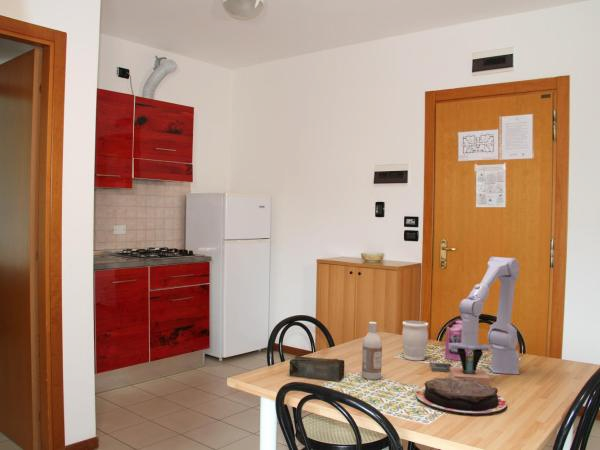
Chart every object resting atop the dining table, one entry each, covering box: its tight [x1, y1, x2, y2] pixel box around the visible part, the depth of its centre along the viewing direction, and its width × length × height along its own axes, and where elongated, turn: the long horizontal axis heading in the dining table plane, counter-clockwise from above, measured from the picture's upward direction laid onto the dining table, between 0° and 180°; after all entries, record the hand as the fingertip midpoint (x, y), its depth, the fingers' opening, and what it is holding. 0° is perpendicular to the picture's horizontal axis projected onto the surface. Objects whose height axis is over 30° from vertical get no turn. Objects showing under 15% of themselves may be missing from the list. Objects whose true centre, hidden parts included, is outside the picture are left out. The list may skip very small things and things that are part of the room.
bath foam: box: [361, 321, 383, 381], centre depth 189 cm, size 7×7×20 cm
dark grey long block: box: [288, 355, 345, 382], centre depth 189 cm, size 8×19×7 cm, turn 73°
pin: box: [465, 355, 474, 374], centre depth 189 cm, size 3×3×7 cm
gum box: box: [444, 318, 473, 362], centre depth 226 cm, size 24×8×14 cm, turn 152°
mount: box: [429, 362, 453, 373], centre depth 202 cm, size 8×8×1 cm
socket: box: [448, 366, 491, 386], centre depth 188 cm, size 12×12×3 cm
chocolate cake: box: [415, 376, 508, 417], centre depth 167 cm, size 28×28×7 cm
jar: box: [401, 320, 429, 362], centre depth 217 cm, size 11×10×15 cm
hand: (469, 369), depth 188 cm, fingers closed on pin, 3 cm apart
